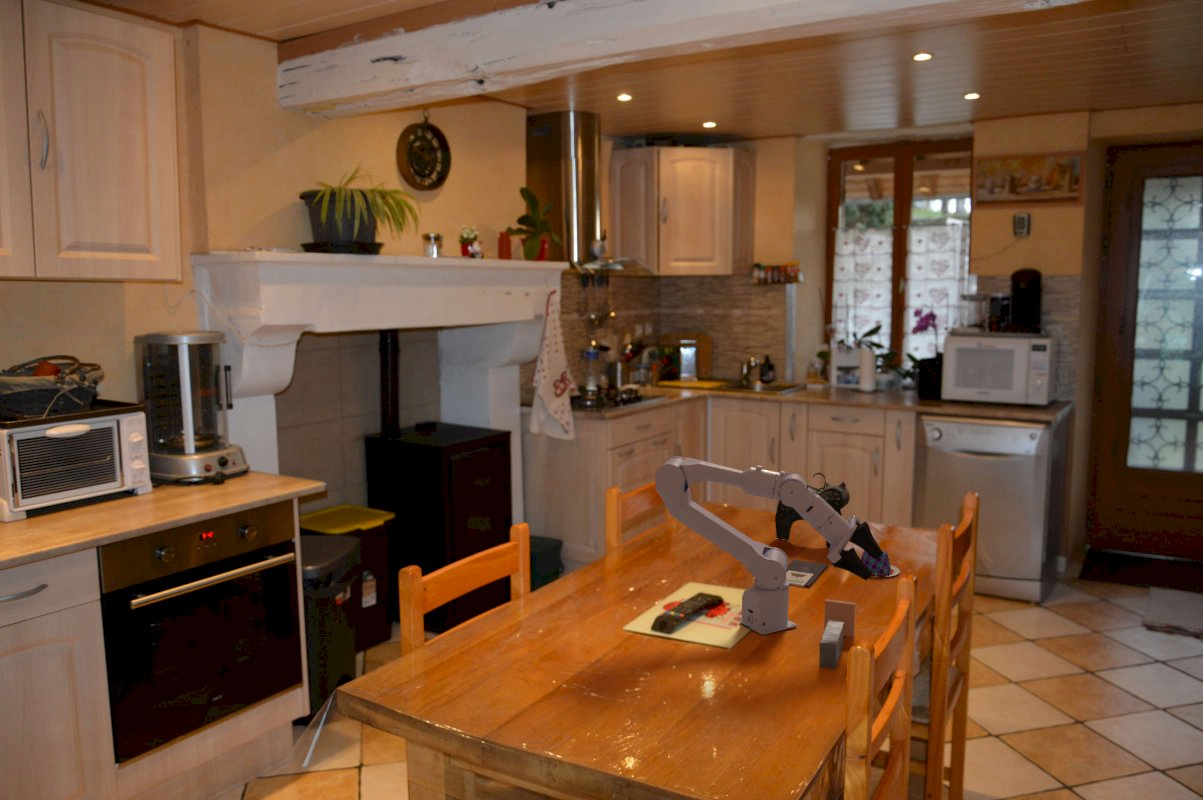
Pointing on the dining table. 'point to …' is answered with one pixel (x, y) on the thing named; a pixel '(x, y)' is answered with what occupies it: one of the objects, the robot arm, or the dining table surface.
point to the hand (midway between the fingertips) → (874, 566)
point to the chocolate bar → (804, 572)
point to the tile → (841, 615)
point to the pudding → (879, 564)
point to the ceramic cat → (788, 515)
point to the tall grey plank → (831, 644)
